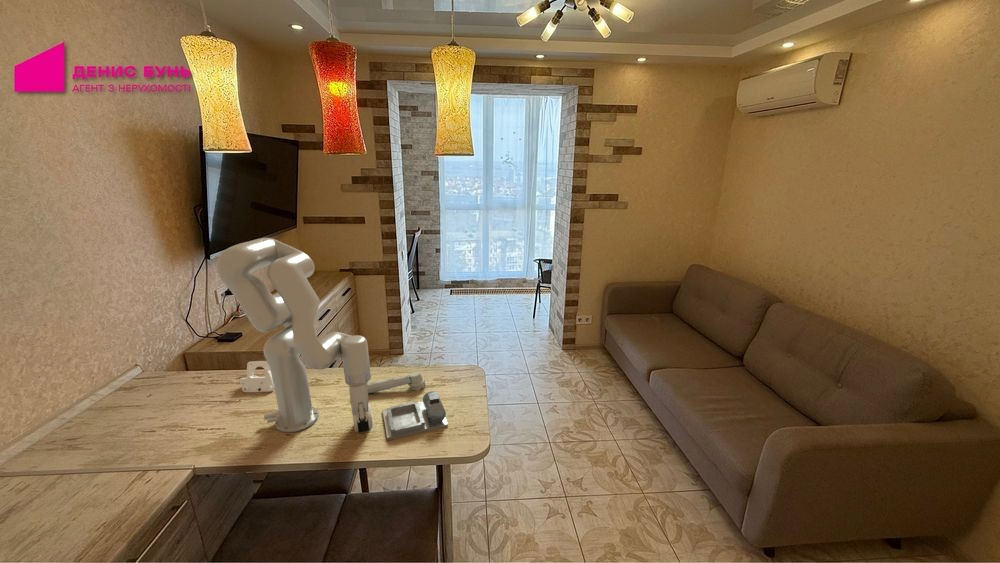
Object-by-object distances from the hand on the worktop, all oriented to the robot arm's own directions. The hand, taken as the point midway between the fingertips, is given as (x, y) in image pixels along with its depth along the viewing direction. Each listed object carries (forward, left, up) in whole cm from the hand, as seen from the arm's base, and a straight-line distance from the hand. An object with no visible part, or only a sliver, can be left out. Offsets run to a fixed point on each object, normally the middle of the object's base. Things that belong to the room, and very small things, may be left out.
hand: (363, 423), depth 125 cm
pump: (0, 0, -1) cm, 1 cm away
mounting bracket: (-34, +38, -2) cm, 51 cm away
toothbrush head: (+11, +18, -2) cm, 21 cm away
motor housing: (+16, -2, -1) cm, 16 cm away
